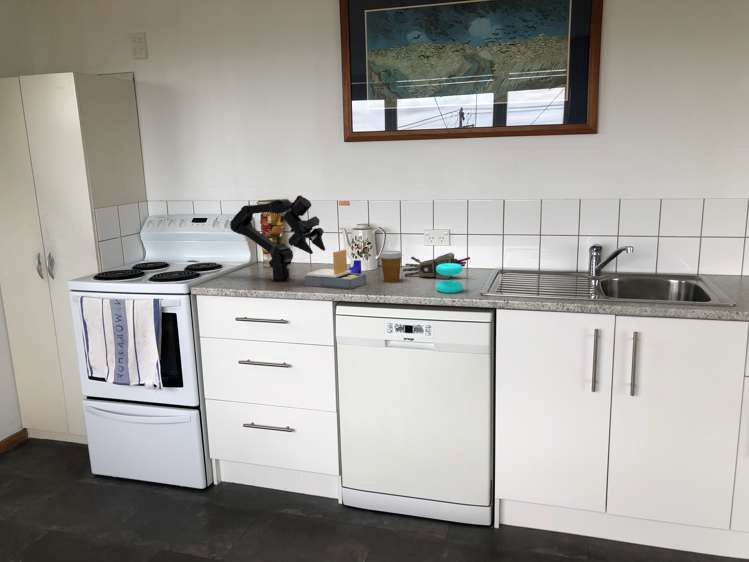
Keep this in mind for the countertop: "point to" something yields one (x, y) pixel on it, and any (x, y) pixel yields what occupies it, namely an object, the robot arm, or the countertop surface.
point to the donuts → (449, 285)
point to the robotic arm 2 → (433, 266)
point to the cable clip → (356, 267)
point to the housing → (337, 281)
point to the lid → (339, 266)
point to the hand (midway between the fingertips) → (318, 251)
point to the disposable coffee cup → (391, 265)
